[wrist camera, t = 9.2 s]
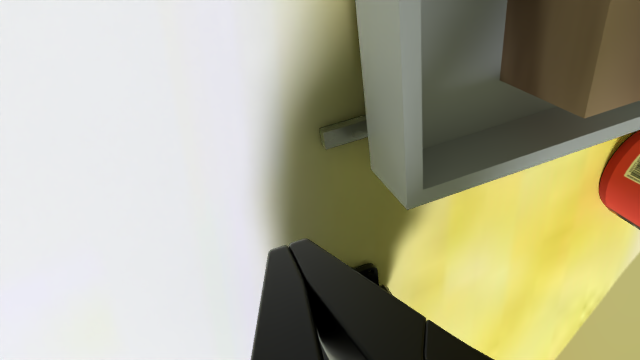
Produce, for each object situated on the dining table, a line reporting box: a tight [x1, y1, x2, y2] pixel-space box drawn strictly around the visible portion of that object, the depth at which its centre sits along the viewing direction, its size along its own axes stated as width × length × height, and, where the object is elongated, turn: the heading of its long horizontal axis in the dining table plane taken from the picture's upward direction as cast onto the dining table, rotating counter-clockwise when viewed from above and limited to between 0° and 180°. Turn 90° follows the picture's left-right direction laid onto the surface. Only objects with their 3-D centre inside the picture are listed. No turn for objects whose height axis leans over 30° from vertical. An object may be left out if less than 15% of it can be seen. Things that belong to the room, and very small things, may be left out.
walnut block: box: [500, 0, 640, 118], centre depth 18 cm, size 5×5×5 cm
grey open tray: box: [355, 0, 640, 210], centre depth 20 cm, size 19×12×6 cm, turn 98°
